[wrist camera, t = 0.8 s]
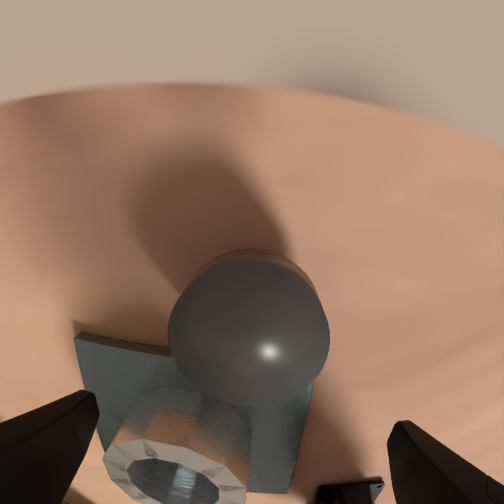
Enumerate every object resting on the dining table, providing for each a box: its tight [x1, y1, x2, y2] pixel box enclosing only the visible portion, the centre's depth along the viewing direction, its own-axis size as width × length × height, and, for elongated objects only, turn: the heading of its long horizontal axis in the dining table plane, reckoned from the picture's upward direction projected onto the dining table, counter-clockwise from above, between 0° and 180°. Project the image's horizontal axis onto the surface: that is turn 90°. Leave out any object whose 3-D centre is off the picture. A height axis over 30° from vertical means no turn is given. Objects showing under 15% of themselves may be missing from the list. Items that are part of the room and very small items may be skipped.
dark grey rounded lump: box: [168, 249, 330, 407], centre depth 15 cm, size 7×7×6 cm
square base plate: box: [74, 332, 314, 504], centre depth 18 cm, size 14×16×6 cm
